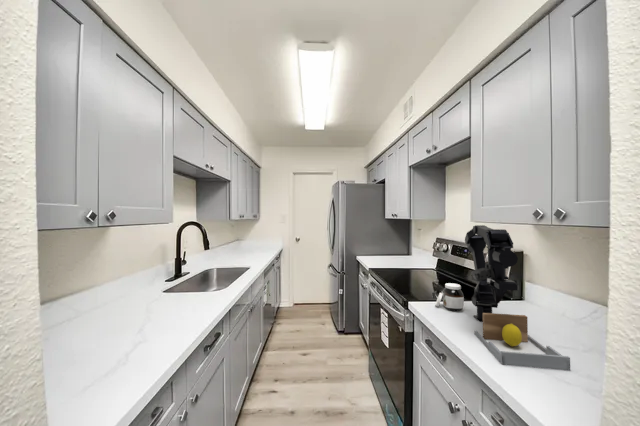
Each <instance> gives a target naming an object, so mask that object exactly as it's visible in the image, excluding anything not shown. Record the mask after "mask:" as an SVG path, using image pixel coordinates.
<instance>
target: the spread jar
mask: <svg viewBox="0 0 640 426" xmlns="http://www.w3.org/2000/svg"><path fill="white" fill-rule="evenodd" d="M461 289H462V286H461V285H460V284H458V283H453V282H452V283H451V282H448V283H447V282H446V283H445V284H444V288H443V289H442V292H439V294H438V296H437V299H436V302H435V306H436V307H439V306H440V304H441V301H442V303H443V304H442V305H443V307H444V308H445V310H447V311H451V312H462V310H463V309H465V308H464V307H465V305H464V304H465V303H464V302H465V301H464V300H465V298H464V297H465V296H464V293H463V291H462V290H461Z"/></svg>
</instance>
